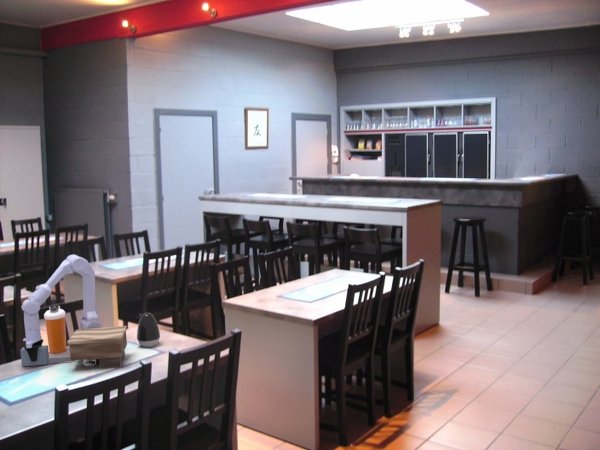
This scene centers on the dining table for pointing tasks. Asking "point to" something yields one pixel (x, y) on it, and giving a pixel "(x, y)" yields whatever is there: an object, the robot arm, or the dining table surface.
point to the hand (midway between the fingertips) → (35, 359)
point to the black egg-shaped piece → (147, 330)
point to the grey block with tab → (41, 357)
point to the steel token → (89, 362)
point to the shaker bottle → (56, 329)
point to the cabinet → (99, 345)
